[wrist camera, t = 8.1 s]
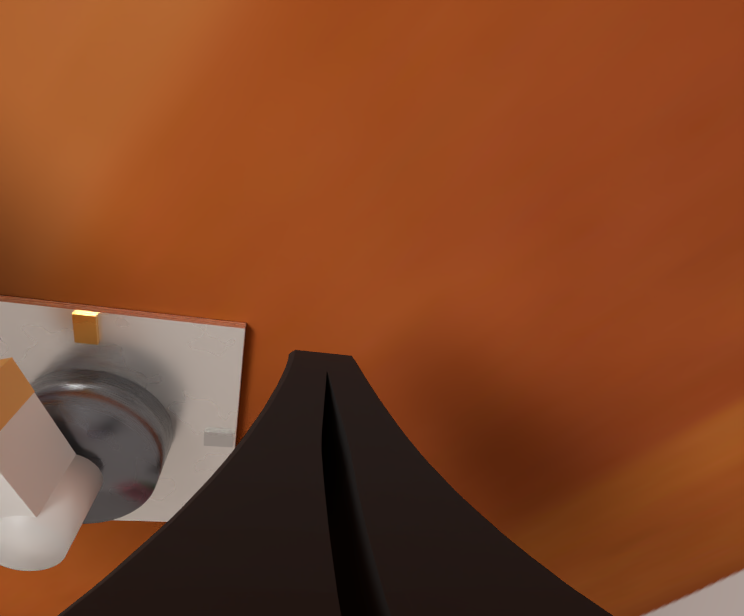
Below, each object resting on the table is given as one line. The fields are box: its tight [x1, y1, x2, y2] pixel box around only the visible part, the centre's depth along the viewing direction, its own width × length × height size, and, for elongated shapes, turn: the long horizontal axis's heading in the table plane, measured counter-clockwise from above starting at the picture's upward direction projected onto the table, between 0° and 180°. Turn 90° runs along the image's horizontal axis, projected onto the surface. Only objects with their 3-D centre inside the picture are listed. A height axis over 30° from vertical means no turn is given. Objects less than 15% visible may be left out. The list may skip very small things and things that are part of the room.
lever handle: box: [0, 357, 103, 571], centre depth 16 cm, size 7×3×3 cm, turn 10°
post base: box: [0, 295, 246, 524], centre depth 21 cm, size 13×13×3 cm
